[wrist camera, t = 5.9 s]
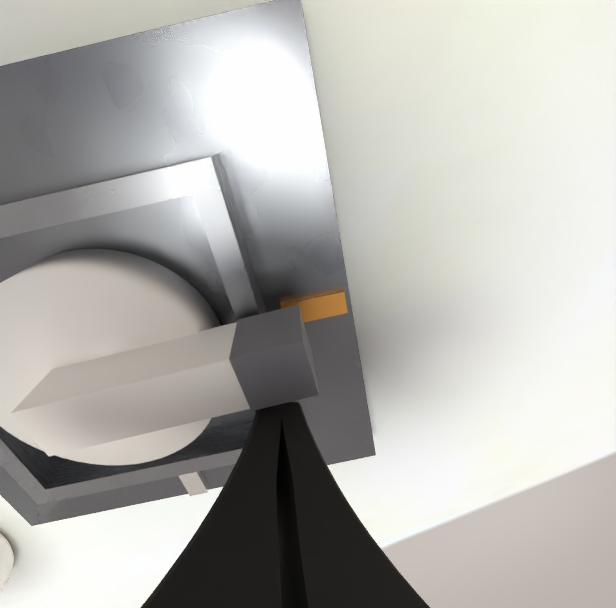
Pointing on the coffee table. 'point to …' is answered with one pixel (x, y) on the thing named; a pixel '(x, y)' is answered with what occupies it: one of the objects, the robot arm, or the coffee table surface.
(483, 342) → the coffee table surface
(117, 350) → the dial
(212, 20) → the panel
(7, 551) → the mug
